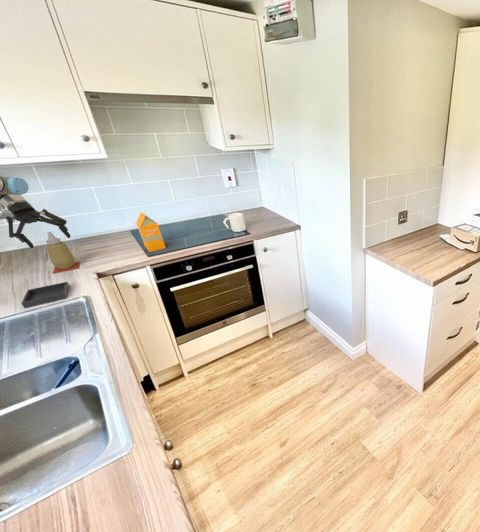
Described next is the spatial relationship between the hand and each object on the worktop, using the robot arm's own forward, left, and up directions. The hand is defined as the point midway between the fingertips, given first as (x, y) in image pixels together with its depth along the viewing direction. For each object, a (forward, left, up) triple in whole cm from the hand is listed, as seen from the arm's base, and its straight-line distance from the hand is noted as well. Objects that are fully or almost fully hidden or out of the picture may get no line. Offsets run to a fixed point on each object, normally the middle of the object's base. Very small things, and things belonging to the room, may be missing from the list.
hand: (51, 241), depth 151 cm
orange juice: (+37, +2, -14) cm, 40 cm away
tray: (-2, -32, -13) cm, 34 cm away
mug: (+80, +7, -14) cm, 81 cm away
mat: (+1, -2, -13) cm, 14 cm away
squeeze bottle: (+1, -2, -13) cm, 14 cm away
